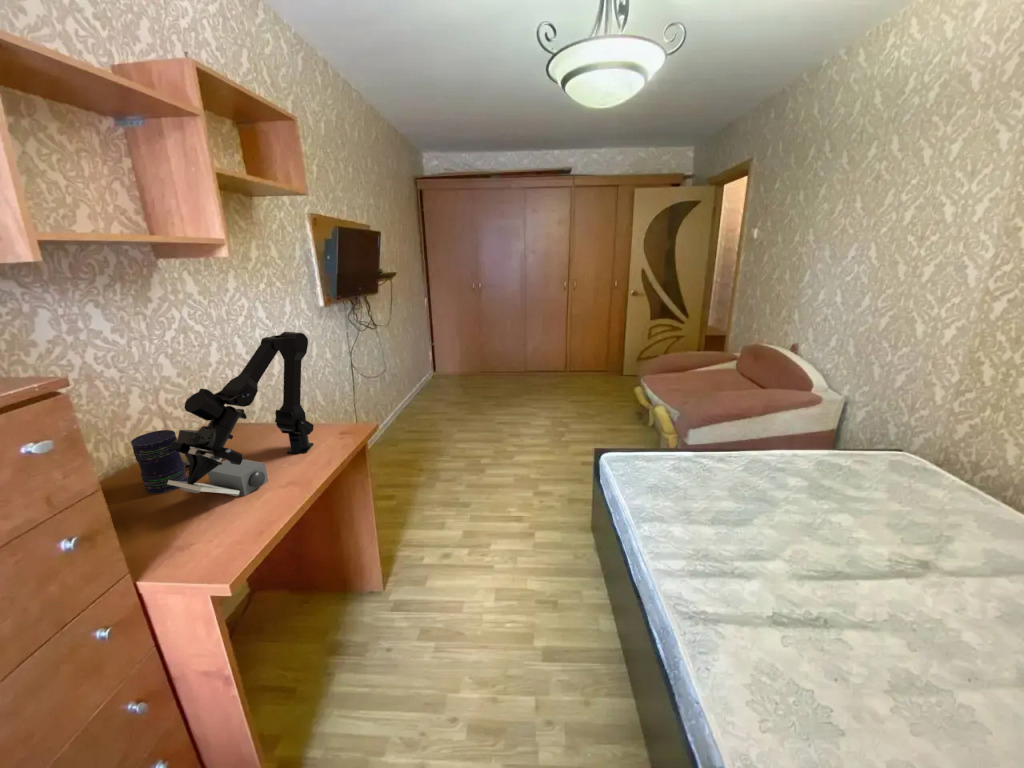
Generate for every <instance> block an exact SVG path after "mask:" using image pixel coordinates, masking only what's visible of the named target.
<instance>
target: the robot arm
mask: <svg viewBox="0 0 1024 768" xmlns="http://www.w3.org/2000/svg"><path fill="white" fill-rule="evenodd" d="M308 346H309V339H308V337H307V336H306V334H304V332H295V331H283V332H281V333H280V335H279V334H278V335H272V336H265V337H263V338H262V339H261V340H260V344H259V346H258V347H257V349H256V350H255V351H254V353H253V355H252V356H251V357H250V359H249V361H248V362H247V364H246V365H245V366H244V368H243V369H242V371H241V372H240V373H239V374H238V375H237V376H235V377H233V378H231V379H230V380H229V381H228V382H227V383H226V384H225V385H224V387H223V388H222V389H221V390H220V391H217V392H216V393H213V392H212V391H211V390H209V389H207V388H200V389H199V390H198V392H195V393H193V394H192V395H191V396H189V397H188V398H187V399H186V401H185V402H184V409H185V412H188V413H190V414H191V415H193V416H196V417H198V418H201V419H203V420H204V421H206V422H208V421H209V422H208V424H207V426H206V425H202V426H201V427H200V428H199V429H198V430H197V429H196V430H195V429H193V430H192V429H191V430H190V429H179V432H178V436H177V440H176V441H173V443H172V444H171V446H170V449H172V450H175V451H178V452H180V453H183V454H185V455H186V456H187V457H188V459H189V461H190V465H188V466H189V467H188V473H187V474H188V475H187V477H188V481H187V483H188V484H194V483H198V482H199V481H200V480H201V479H202V478H203V477H205V476H206V475H208V472H210V471H211V470H213V469H214V468H216V467H217V466H218V465H222V460H223V459H224V460H225V461H226V460H228V461H230V463H231V464H236V465H240V464H241V462H242V460H243V459H244V457H243V456H244V455H243V453H241V452H238V451H236V450H234V449H232V448H228V447H225V446H226V443H227V441H229V440H233V438H234V435H232V432H233V431H234V428H235V426H236V425H237V422H238V420H239V419H242V420H246V419H247V418H248V417H247V414H246V413H245V409H243V408H244V407H248V406H249V407H250V406H251V405H252V404H253V402H254V400H255V398H256V396H257V393H258V389H259V388H258V384H259V382H260V380H261V378H262V376H263V375H264V374H265V372H266V370H267V369H268V368H269V365H271V362H272V361H273V359H274V358H275V356H276V355H277V354H278V352H279V353H280V355H281V357H282V358H283V392H282V393H283V395H282V399H283V401H282V405H281V407H280V408H279V409H276V410H275V411H274V413H275V414H274V415H275V419H274V423H276V428H278V429H279V430H280V432H281V433H282V434H288V438H289V446H290V448H288V449H287V451H286V453H287V454H305V453H308V452H309V450H310V449H311V448H312V447H313V446H314V442H310V441H309V439H310V438H309V435H311V434H312V432H313V431H314V427H315V426H314V424H313V423H312V422H310V421H308V420H307V417H306V412H305V410H304V409H303V406H302V404H301V395H302V393H301V388H302V387H301V386H302V361H303V359H304V357H305V356H306V355H307V352H308ZM225 405H226V406H225ZM233 406H236V407H243V408H236V407H233ZM204 451H205V452H204Z"/></svg>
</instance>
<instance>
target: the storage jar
mask: <svg viewBox="0 0 1024 768" xmlns="http://www.w3.org/2000/svg"><path fill="white" fill-rule="evenodd" d="M176 440H178V437H177V436H176V432H175V431H174V430H172V429H171V430H170V429H164V430H155V431H150V432H147V433H143V434H141V435H138V436H136V437H135V438H133V439H132V440H131V441H130V443H131V444H130V445H131V446H132V451H133V455H134V458H135V460H136V463H138V467H139V469H140V476H141V481H142V483H143V485H144V487H145V491H147V492H148V494H150V493H151V494H150V495H159V494H164V493H168V492H172V491H175V490H177V489H180V487H178V486H173V485H169V484H167V483H168V480H172V481H182V482H187V481H188V475H187V474H188V473H187V468H186V466H184V463H183V461H182V459H181V456H180V452H178V451H175V450H172V449H170V446H171V444H172V443H173V441H176ZM147 492H146V493H147Z"/></svg>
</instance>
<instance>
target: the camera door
mask: <svg viewBox="0 0 1024 768" xmlns="http://www.w3.org/2000/svg"><path fill="white" fill-rule="evenodd" d="M167 484H169V485H173V486H178V487H179V490H180V491H183V492H184V491H185V492H188V493H189V492H190V493H193V494H200V492H205V493H206V492H207V493H217V494H224V495H228V496H233V497H239V496H240V495H239V492H240V491H239V490H234V489H229V488H224V487H220V486H215V485H211V484H210V483H202V482H200V483H199V482H196V483H194V484H188V483H187V482H182V481H172V480H168V483H167Z"/></svg>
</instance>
